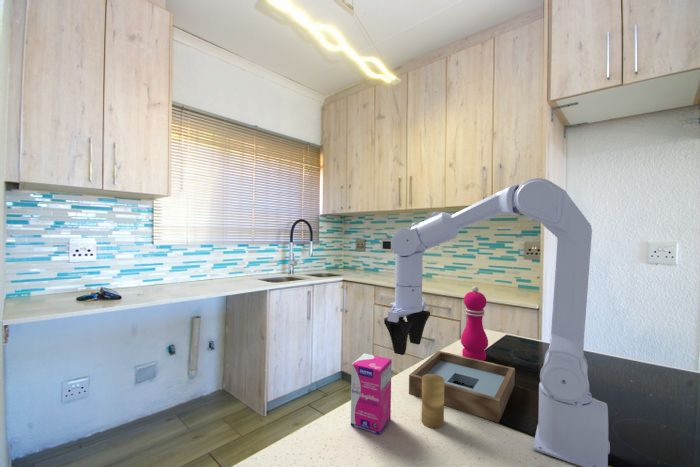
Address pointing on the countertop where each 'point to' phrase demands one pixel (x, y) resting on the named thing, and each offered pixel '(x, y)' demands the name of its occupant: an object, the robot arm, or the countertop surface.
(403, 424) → the countertop surface
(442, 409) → the peg
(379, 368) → the supplement box
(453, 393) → the tray
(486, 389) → the bore plate
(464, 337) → the pepper mill
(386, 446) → the countertop surface
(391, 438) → the countertop surface
